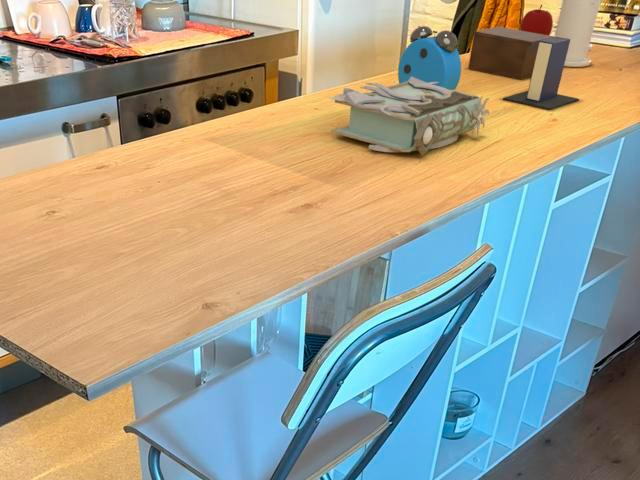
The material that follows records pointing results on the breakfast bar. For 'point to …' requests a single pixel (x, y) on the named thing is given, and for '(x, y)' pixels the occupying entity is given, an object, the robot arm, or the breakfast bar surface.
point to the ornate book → (410, 115)
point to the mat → (546, 104)
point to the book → (548, 68)
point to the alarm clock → (431, 58)
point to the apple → (537, 22)
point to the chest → (502, 57)
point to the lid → (512, 35)
